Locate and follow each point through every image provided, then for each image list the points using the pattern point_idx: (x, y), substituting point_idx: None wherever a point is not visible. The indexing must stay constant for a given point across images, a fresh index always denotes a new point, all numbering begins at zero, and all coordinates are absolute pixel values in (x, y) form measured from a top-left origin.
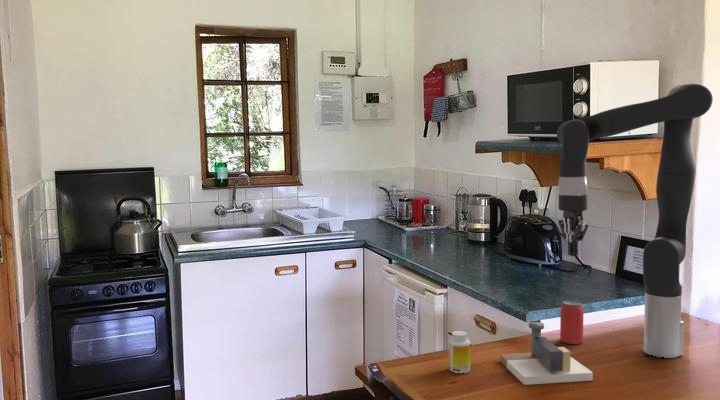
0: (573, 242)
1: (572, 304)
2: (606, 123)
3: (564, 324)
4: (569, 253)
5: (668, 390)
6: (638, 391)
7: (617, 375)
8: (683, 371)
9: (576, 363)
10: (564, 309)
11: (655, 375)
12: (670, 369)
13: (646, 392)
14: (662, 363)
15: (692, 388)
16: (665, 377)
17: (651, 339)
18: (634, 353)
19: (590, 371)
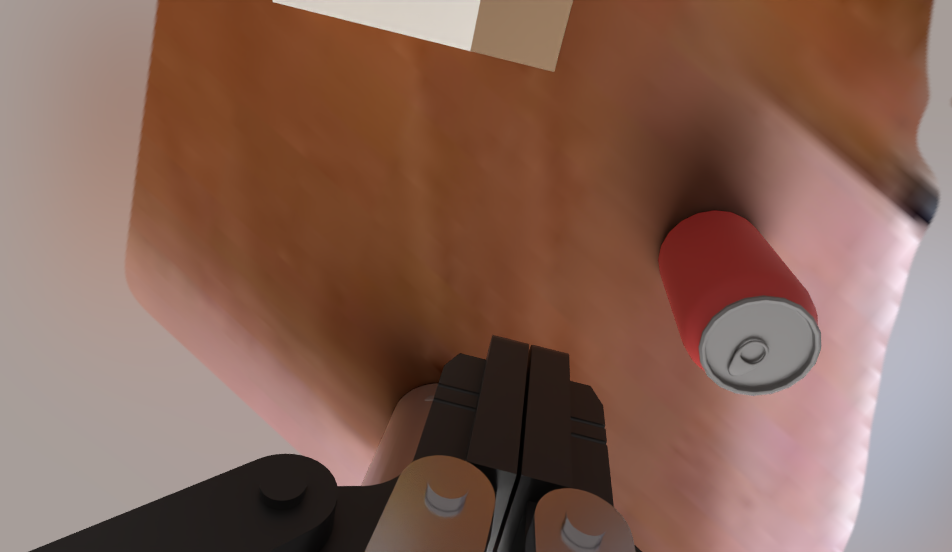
0: (391, 482)
1: (742, 335)
2: None
3: (726, 240)
4: (515, 349)
5: (158, 190)
6: (163, 89)
7: (310, 136)
8: (288, 356)
9: (388, 13)
10: (753, 276)
11: (278, 255)
12: (313, 337)
13: (152, 109)
14: (366, 358)
15: (162, 267)
16: (256, 269)
17: (422, 419)
18: (480, 357)
19: (286, 1)
